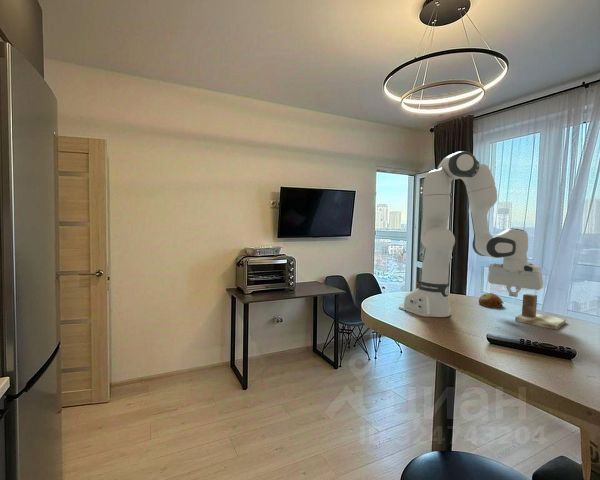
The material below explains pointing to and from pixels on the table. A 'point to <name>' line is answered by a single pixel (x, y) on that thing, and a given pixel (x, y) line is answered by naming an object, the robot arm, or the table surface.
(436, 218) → the robot arm
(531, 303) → the walnut block
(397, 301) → the table surface
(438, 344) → the table surface
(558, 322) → the board
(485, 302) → the bread roll
